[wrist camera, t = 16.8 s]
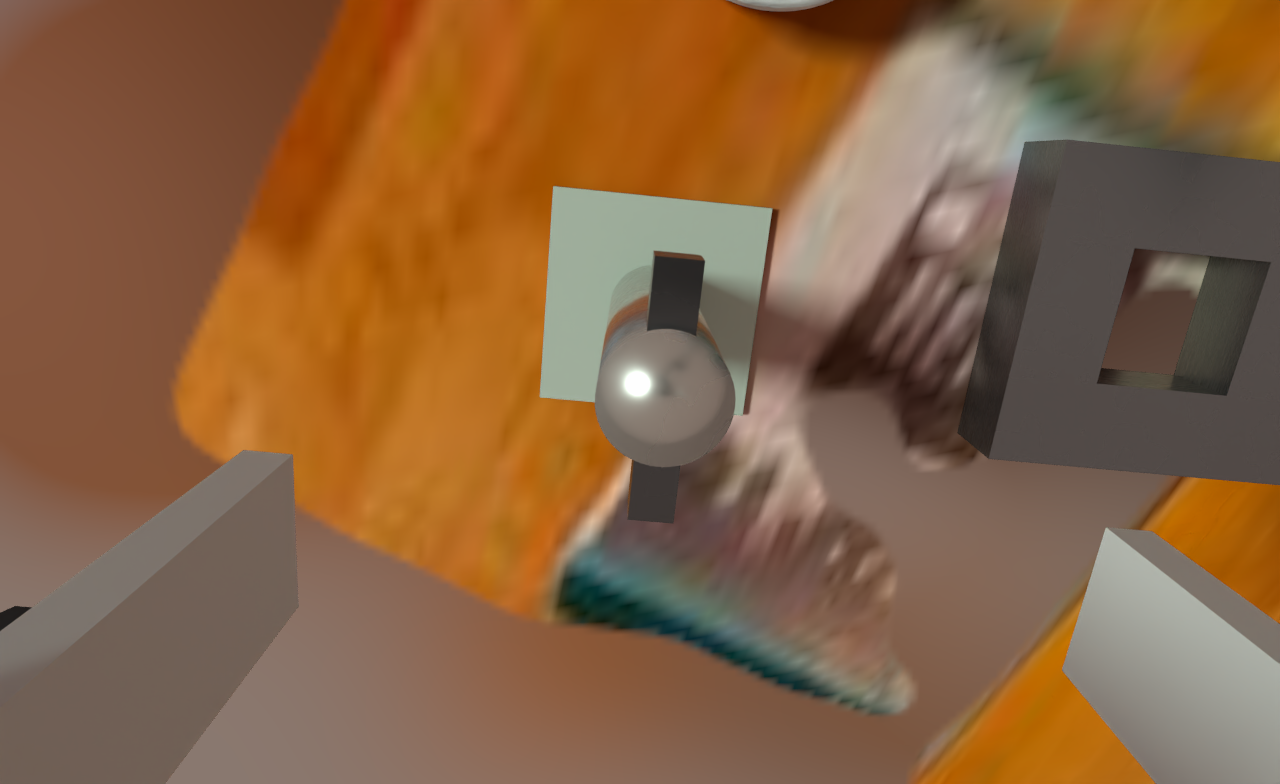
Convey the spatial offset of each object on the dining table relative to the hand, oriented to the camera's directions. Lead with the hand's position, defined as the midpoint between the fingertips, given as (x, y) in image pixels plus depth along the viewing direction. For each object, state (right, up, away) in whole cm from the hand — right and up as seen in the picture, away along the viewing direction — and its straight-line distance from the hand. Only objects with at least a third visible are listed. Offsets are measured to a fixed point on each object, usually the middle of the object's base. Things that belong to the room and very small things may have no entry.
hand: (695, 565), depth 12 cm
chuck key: (0, +7, +24) cm, 25 cm away
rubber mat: (0, +7, +24) cm, 25 cm away
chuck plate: (+23, +7, +24) cm, 34 cm away
